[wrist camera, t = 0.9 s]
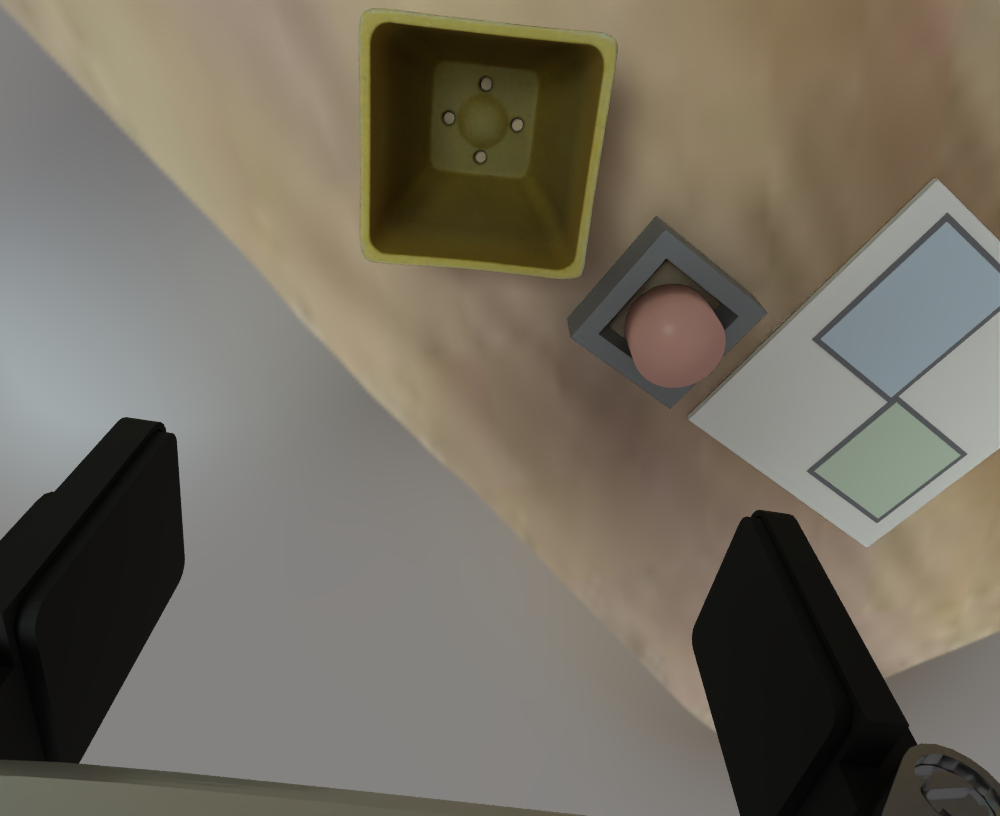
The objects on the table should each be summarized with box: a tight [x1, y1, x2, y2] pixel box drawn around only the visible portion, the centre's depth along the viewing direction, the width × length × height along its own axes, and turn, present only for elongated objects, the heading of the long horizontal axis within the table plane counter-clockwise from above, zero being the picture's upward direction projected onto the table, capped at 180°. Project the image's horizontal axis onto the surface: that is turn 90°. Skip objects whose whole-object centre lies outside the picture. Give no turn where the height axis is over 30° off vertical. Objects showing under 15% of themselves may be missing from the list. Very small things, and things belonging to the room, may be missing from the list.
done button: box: [625, 284, 726, 388], centre depth 35 cm, size 4×4×3 cm
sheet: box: [687, 178, 1000, 548], centre depth 40 cm, size 17×16×1 cm
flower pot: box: [359, 8, 618, 279], centre depth 30 cm, size 9×9×9 cm
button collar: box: [567, 216, 767, 408], centre depth 37 cm, size 7×7×2 cm
